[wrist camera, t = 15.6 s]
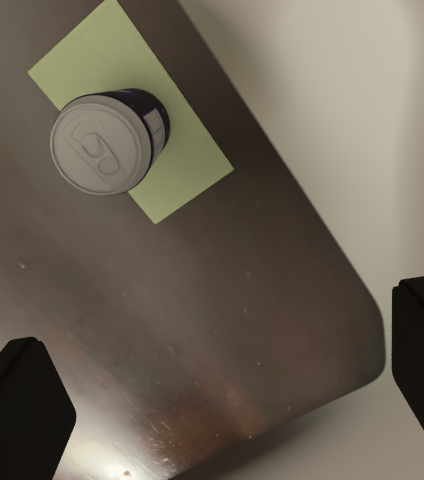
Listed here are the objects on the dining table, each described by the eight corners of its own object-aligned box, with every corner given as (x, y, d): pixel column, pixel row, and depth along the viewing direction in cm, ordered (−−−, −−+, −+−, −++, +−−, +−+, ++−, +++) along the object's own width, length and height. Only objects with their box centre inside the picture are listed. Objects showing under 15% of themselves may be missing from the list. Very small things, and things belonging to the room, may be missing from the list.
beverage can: (146, 73, 29) (107, 72, 18) (184, 137, 31) (169, 171, 20) (89, 111, 30) (19, 131, 19) (129, 170, 32) (86, 219, 21)
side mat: (234, 169, 32) (234, 169, 32) (155, 223, 34) (155, 224, 34) (112, -6, 27) (111, -7, 26) (28, 72, 29) (27, 72, 29)
